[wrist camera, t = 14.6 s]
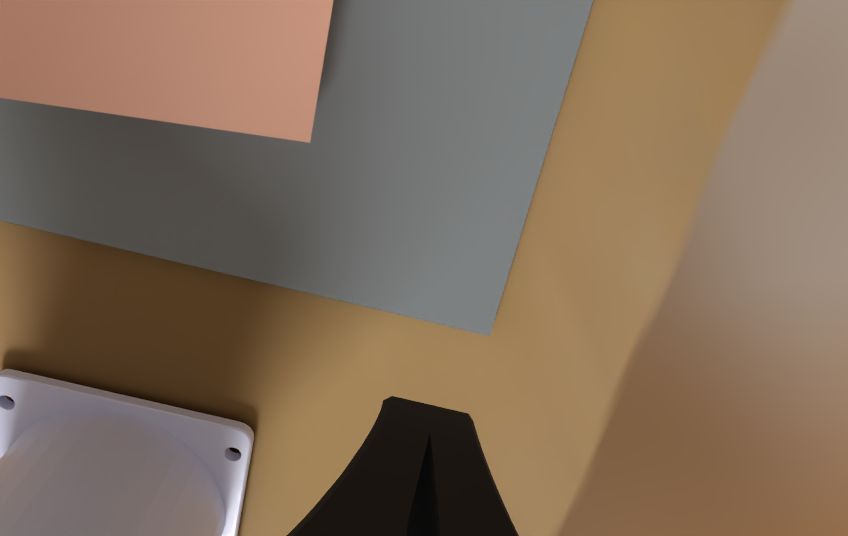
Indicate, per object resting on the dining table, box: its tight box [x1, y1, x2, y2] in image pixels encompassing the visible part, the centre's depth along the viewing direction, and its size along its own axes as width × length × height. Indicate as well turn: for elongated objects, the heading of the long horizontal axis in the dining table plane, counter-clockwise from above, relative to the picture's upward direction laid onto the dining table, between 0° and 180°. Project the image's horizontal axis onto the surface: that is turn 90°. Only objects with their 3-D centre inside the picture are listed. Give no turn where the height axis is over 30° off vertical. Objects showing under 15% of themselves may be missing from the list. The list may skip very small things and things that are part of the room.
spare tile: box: [0, 0, 333, 143], centre depth 17 cm, size 4×2×8 cm
